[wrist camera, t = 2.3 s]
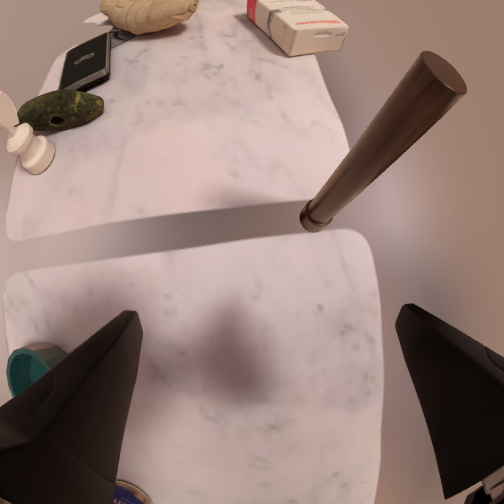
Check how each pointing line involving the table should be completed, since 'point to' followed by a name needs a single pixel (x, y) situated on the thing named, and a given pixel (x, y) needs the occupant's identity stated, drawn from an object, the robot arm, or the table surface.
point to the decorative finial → (24, 139)
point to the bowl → (31, 365)
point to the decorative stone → (60, 110)
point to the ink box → (298, 25)
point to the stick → (389, 135)
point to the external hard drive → (86, 64)
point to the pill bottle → (129, 494)
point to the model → (147, 13)
